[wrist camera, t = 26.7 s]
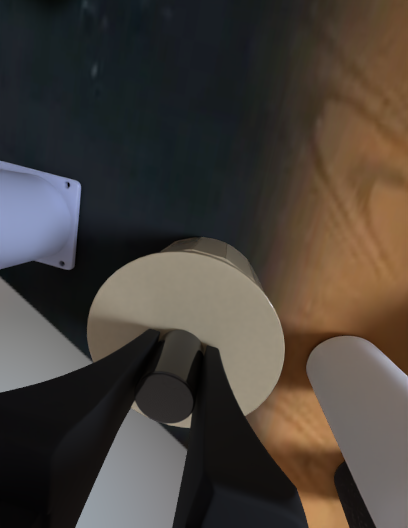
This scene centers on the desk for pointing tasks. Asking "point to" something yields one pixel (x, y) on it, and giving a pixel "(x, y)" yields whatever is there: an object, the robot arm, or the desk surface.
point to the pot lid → (189, 330)
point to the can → (366, 421)
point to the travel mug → (351, 499)
